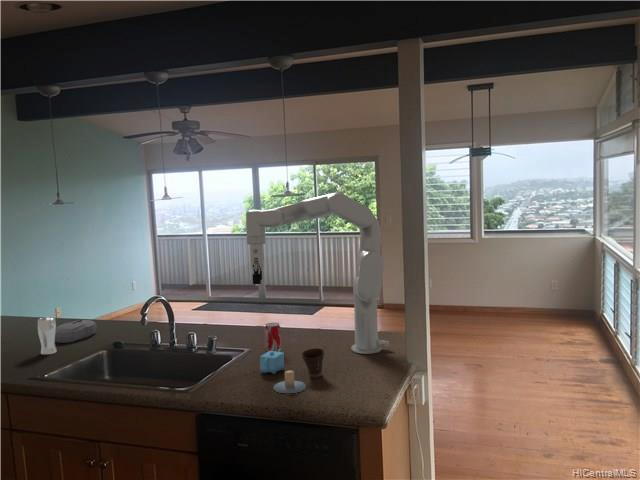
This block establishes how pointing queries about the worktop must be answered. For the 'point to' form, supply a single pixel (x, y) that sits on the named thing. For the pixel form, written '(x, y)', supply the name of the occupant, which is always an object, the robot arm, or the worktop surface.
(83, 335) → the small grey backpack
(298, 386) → the lid
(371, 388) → the worktop surface
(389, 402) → the worktop surface
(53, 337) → the beer glass
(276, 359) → the light blue box
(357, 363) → the worktop surface
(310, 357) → the cup
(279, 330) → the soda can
